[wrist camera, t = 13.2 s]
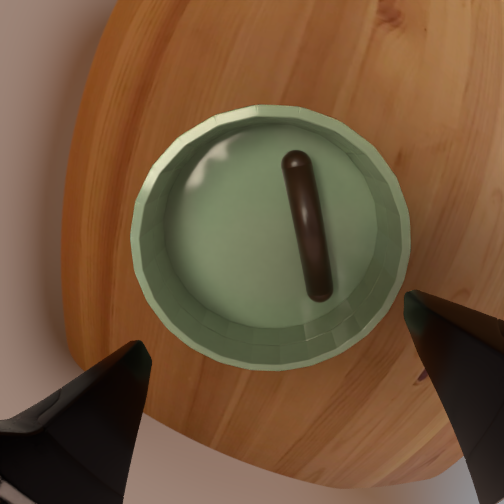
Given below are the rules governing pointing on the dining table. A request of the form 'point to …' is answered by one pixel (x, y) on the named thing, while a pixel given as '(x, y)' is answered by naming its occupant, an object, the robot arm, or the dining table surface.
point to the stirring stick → (308, 224)
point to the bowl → (267, 238)
